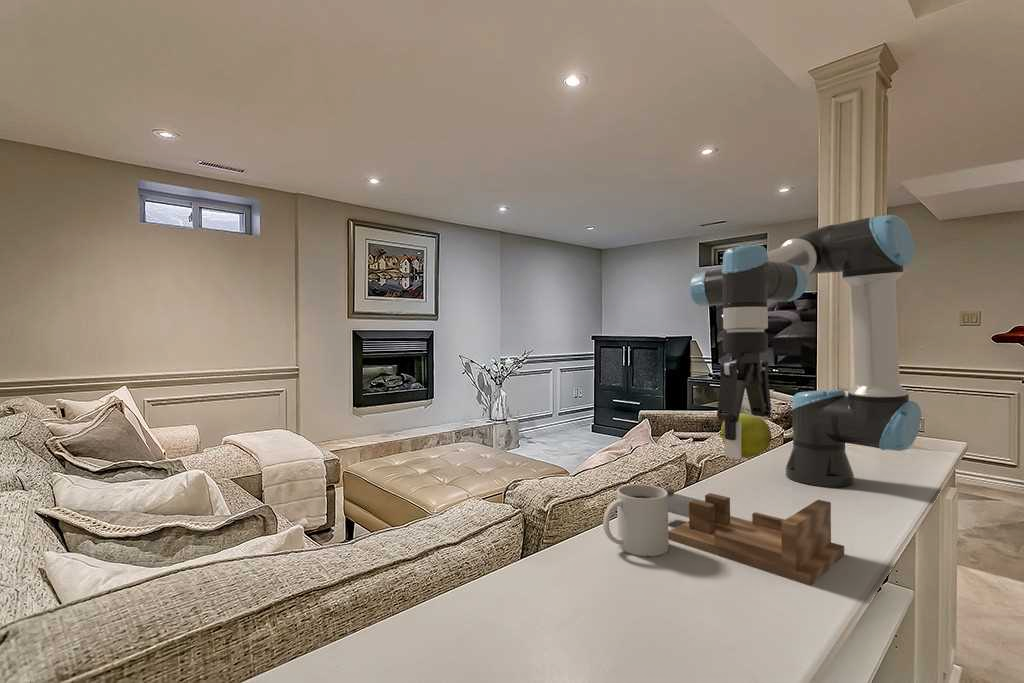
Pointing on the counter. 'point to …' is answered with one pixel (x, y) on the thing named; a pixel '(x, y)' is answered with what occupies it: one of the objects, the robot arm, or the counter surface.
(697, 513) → the cradle
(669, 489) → the shaft
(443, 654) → the counter surface
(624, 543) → the mug
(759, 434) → the apple
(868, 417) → the robot arm
